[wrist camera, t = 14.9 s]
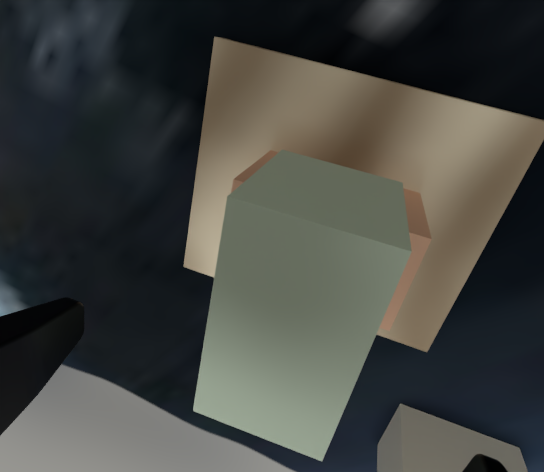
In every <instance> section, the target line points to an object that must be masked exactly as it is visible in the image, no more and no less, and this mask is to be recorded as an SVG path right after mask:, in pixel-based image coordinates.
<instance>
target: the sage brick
mask: <svg viewBox="0 0 544 472" xmlns="http://www.w3.org/2000/svg"><path fill="white" fill-rule="evenodd" d="M411 252H412V250H411V243H410V235H409V227H408V220H407V212H406V205H405V197H404V190H403V183H402V182H399V181H395V180H391V179H388V178H384V177H381V176H377V175H373V174H370V173H366V172H362V171H359V170H355V169H351V168H348V167H344V166H340V165H337V164H333V163H330V162H326V161H322V160H319V159H315V158H311V157H308V156H304V155H300V154H297V153H293V152H289V151H286V150H281V151H280V152H279V153H277V154H276V155H275V156H274V157H273V158H272V159H270V160H269V161H268V162H267V163H266V164H265V165H263V166H262V167H261V168H260V169H259V170H258V171H256V172H255V173H254V174H253V175H252V176H251V177H249V178H248V179H247V180H246V181H245V182H244V183H242V184H241V185H240V186H239V187H238V188H237V189H235V190H234V191H233V192H232V193H231V194H230V195H228V196H227V202H226V208H225V214H224V220H223V227H222V233H221V239H220V245H219V252H218V258H217V264H216V270H215V276H214V283H213V289H212V295H211V301H210V308H209V314H208V320H207V326H206V333H205V339H204V345H203V351H202V358H201V364H200V370H199V376H198V383H197V389H196V395H195V401H194V407H193V411H195V412H197V413H200V414H202V415H205V416H207V417H210V418H213V419H215V420H218V421H220V422H223V423H225V424H228V425H230V426H233V427H235V428H238V429H241V430H243V431H246V432H248V433H251V434H253V435H256V436H258V437H261V438H263V439H266V440H269V441H271V442H274V443H276V444H279V445H281V446H284V447H286V448H289V449H291V450H294V451H297V452H299V453H302V454H304V455H307V456H309V457H312V458H314V459H317V460H319V461H322V460H323V458H324V456H325V453H326V451H327V449H328V446H329V444H330V442H331V439H332V437H333V435H334V432H335V430H336V428H337V425H338V423H339V421H340V418H341V416H342V414H343V411H344V409H345V407H346V404H347V402H348V400H349V397H350V395H351V393H352V390H353V388H354V385H355V383H356V381H357V378H358V376H359V374H360V371H361V369H362V367H363V364H364V362H365V360H366V357H367V355H368V353H369V350H370V348H371V346H372V343H373V341H374V339H375V336H376V334H377V332H378V329H379V327H380V325H381V322H382V320H383V318H384V315H385V313H386V311H387V308H388V306H389V304H390V301H391V299H392V297H393V294H394V292H395V290H396V287H397V285H398V283H399V280H400V278H401V275H402V273H403V271H404V268H405V266H406V264H407V261H408V259H409V257H410V254H411Z"/></svg>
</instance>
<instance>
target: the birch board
mask: <svg viewBox="0 0 544 472" xmlns="http://www.w3.org/2000/svg"><path fill="white" fill-rule="evenodd" d="M543 140H544V120H541V119H537V118H533V117H529V116H525V115H521V114H518V113H514V112H510V111H506V110H502V109H498V108H494V107H490V106H486V105H482V104H479V103H475V102H471V101H467V100H463V99H459V98H455V97H451V96H447V95H444V94H440V93H436V92H432V91H428V90H424V89H420V88H416V87H412V86H408V85H405V84H401V83H397V82H393V81H389V80H385V79H381V78H377V77H373V76H370V75H366V74H362V73H358V72H354V71H350V70H346V69H342V68H338V67H334V66H331V65H327V64H323V63H319V62H315V61H311V60H307V59H303V58H299V57H296V56H292V55H288V54H284V53H280V52H276V51H272V50H268V49H264V48H260V47H257V46H253V45H249V44H245V43H241V42H237V41H233V40H229V39H225V38H220V37H214V43H213V51H212V58H211V66H210V73H209V81H208V88H207V96H206V103H205V110H204V118H203V125H202V133H201V140H200V148H199V155H198V163H197V170H196V177H195V185H194V192H193V200H192V207H191V215H190V222H189V230H188V237H187V245H186V252H185V259H184V267H186V268H189V269H191V270H194V271H197V272H200V273H203V274H206V275H209V276H211V277H214V276H215V270H216V264H217V258H218V252H219V245H220V239H221V233H222V227H223V220H224V214H225V208H226V202H227V196H228V195H230V194H231V190H232V184H233V179H234V178H236V177H237V176H238V175H239V174H241V173H242V172H243V171H245V170H246V169H247V168H248V167H250V166H251V165H252V164H254V163H255V162H256V161H257V160H259V159H260V158H261V157H263V156H264V155H265V154H266V153H268V152H269V151H270V150H272V151H275V152H280V151H281V150H286V151H289V152H293V153H297V154H300V155H304V156H308V157H311V158H315V159H319V160H322V161H326V162H330V163H333V164H337V165H340V166H344V167H348V168H351V169H355V170H359V171H362V172H366V173H370V174H373V175H377V176H381V177H384V178H388V179H391V180H395V181H399V182H402V183H403V188H404V189H408V190H411V191H414V192H418V193H420V195H421V198H422V202H423V206H424V210H425V214H426V218H427V222H428V226H429V230H430V234H431V238H432V240H431V242H430V244H429V247H428V249H427V251H426V253H425V255H424V257H423V260H422V262H421V264H420V266H419V268H418V270H417V273H416V275H415V277H414V279H413V281H412V283H411V286H410V288H409V290H408V292H407V294H406V296H405V299H404V301H403V303H402V305H401V307H400V309H399V312H398V314H397V316H396V318H395V320H394V322H393V325H392V327H391V329H390V331H387V330H384V329H381V328H379V329H378V332H377V335H380V336H382V337H385V338H388V339H391V340H394V341H397V342H399V343H402V344H405V345H408V346H411V347H414V348H417V349H419V350H422V351H425V352H427V351H428V349H429V348H430V346H431V344H432V342H433V340H434V338H435V337H436V335H437V333H438V331H439V329H440V328H441V326H442V324H443V322H444V320H445V318H446V317H447V315H448V313H449V311H450V309H451V307H452V306H453V304H454V302H455V300H456V298H457V297H458V295H459V293H460V291H461V289H462V287H463V286H464V284H465V282H466V280H467V278H468V277H469V275H470V273H471V271H472V269H473V267H474V266H475V264H476V262H477V260H478V258H479V256H480V255H481V253H482V251H483V249H484V247H485V246H486V244H487V242H488V240H489V238H490V236H491V235H492V233H493V231H494V229H495V227H496V226H497V224H498V222H499V220H500V218H501V216H502V215H503V213H504V211H505V209H506V207H507V205H508V204H509V202H510V200H511V198H512V196H513V195H514V193H515V191H516V189H517V187H518V185H519V184H520V182H521V180H522V178H523V176H524V174H525V173H526V171H527V169H528V167H529V165H530V164H531V162H532V160H533V158H534V156H535V154H536V153H537V151H538V149H539V147H540V145H541V144H542V142H543Z"/></svg>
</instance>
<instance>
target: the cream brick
mask: <svg viewBox="0 0 544 472" xmlns="http://www.w3.org/2000/svg"><path fill="white" fill-rule="evenodd" d="M476 454H483V455H486V456H488V457H491V458H494V459H496V460H498V461H500V462H501V463H502V464H503V466H504V467H505V468H506V470H507V471H508V472H528V471H527V468H526V465H525V462H524V459H523V457H522V454H521V451H520V448H518V447H516V446H513V445H510V444H508V443H505V442H502V441H500V440H497V439H494V438H492V437H489V436H486V435H483V434H481V433H478V432H475V431H473V430H470V429H467V428H465V427H462V426H459V425H457V424H454V423H451V422H449V421H446V420H443V419H441V418H438V417H435V416H433V415H430V414H427V413H424V412H422V411H419V410H416V409H414V408H411V407H408V406H406V405H403V404H400V405H399V407H398V408H397V410H396V412H395V414H394V416H393V418H392V419H391V421H390V423H389V425H388V427H387V428H386V430H385V432H384V434H383V436H382V437H381V439H380V441H379V443H378V454H377V472H462V471H463V470H464V469H465V467H466V466H467V465H468V463H469V462H470V461H471V459H472V458H473V457H474V456H475V455H476Z"/></svg>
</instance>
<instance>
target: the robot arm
mask: <svg viewBox="0 0 544 472" xmlns="http://www.w3.org/2000/svg"><path fill="white" fill-rule="evenodd" d="M83 332H84V306H83V304H82V303H81V302H79V301H76V300H73V299H71V298H61V299H58V300H54V301H51V302H48V303H44V304H41V305H37V306H34V307H31V308H27V309H24V310H21V311H17V312H14V313H11V314H7V315H4V316H1V317H0V435H1V434H2V433H3V432H4V431H5V430H6V429H7V428H8V427H9V425H10V424H11V423H12V422H13V421H14V420H15V419H16V418H17V417H18V416H19V415H20V413H21V412H22V411H23V410H24V409H25V408H26V407H27V406H28V405H29V404H30V402H31V401H32V400H33V399H34V398H35V397H36V396H37V395H38V394H39V392H40V391H41V390H42V389H43V387H44V386H45V385H46V383H47V382H48V381H49V380H50V378H51V377H52V376H53V374H54V373H55V371H56V370H57V369H58V368H59V366H60V365H61V364H62V363H63V361H64V360H65V359H66V357H67V356H68V355H69V353H70V352H71V351H72V349H73V348H74V347H75V345H76V344H77V343H78V342H79V340H80V339H81V337H82V335H83ZM462 472H508V471H507V470H506V468H505V467H504V466H503V464H502V463H501V462H500V461H498V460H496V459H494V458H491V457H488V456H486V455H483V454H476V455H475V456H474V457H473V458H472V459H471V461H470V462H469V463H468V465H467V466H466V467H465V469H464V470H463V471H462Z"/></svg>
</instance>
